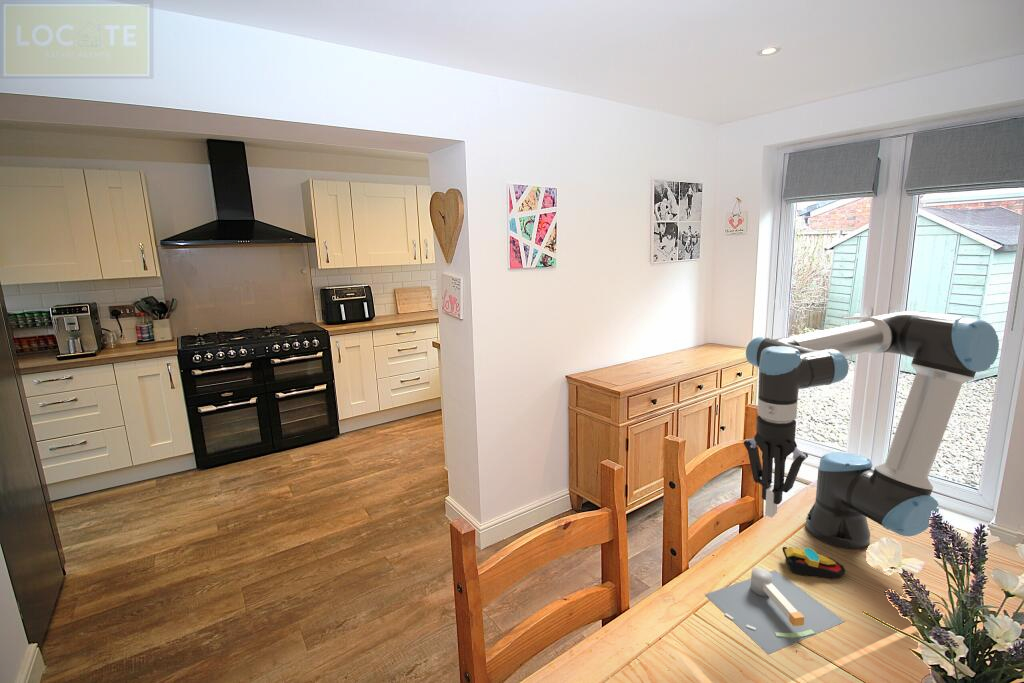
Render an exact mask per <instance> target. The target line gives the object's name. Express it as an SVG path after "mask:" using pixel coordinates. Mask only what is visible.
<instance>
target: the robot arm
mask: <svg viewBox="0 0 1024 683" xmlns="http://www.w3.org/2000/svg"><path fill="white" fill-rule="evenodd" d="M999 345H1000V341H999V336H998V334H997V332H996V330H995V328H994V327H993V325H991V324H990V323H989V322H987V321H984V320H982V319H977V318H974V317H973V318H972V317H969V316H963V315H962V316H961V315H953V314H952V315H951V314H945V313H944V314H943V313H934V312H927V311H923V310H922V311H920V310H909V311H908V310H905V311H899V312H898V311H897V312H896V311H895V312H891V313H890V312H889V313H885V314H880V315H874V316H869V317H865V318H863V319H861V320H860V321H859V322H858V323H853V324H847V325H843V326H839V327H833V328H828V329H827V328H826V329H822V330H818V331H812V332H811V331H810V332H807V333H801V334H798V335H793V336H786V337H780V338H775V339H774V338H773V339H772V338H770V337H762V336H760V337H759V336H758V337H755V338H753V339H752V340H750V341H749V343H748V344H747V346H746V349H745V358H746V360H747V363H749V364H750V365H752V366H754V367H757V368H758V397H757V398H758V399H757V415H758V416H756V434H755V435H754V436H753V437H749V438H747V439H746V440H744V441H743V446H744V447H745V449H746V450H747V455H748V459H749V464H750V468H751V474H752V478H753V482H755V483H758V484H759V485H760V486H761V487H762V488H761V498H762V500H764V501H765V509H764V510H765V511H764V516H767V517H769V518H773V517H775V515H776V514H777V513H778V505H780V504H781V503H782V502H783V493H788V492H790V491H791V489H793V487H794V485H795V481H796V479H797V476H798V474H799V472H800V469H801V467H802V463H803V462H804V461H806V459H807V458H808V457H809V454H808V453H807V452H802V451H801V450H800V449H799V448H798V445H797V442H796V432H797V431H796V429H797V421H796V419H797V415H798V401H799V400H798V399H799V390H802V389H803V390H804V389H808V388H814V387H820V386H830V385H832V384H835V383H839V382H841V381H843V380H845V379H846V377H847V375H848V374H849V362H848V359H847V358H846V357H848V356H851V355H856V354H862V353H869V354H875V355H877V354H882V353H890V354H895V355H896V354H897V355H900V356H901V355H902V356H907V357H909V358H912V361H911V364H910V365H911V366H912V368H913V370H914V371H915V375H914V378H913V382H912V385H911V387H910V390H909V393H908V395H907V398H906V401H905V404H904V407H903V409H902V413H901V415H900V418H899V421H898V424H897V426H896V427H897V428H896V430H895V431H894V436H893V438H892V441H891V444H890V447H889V451H888V453H887V455H886V458H885V461H884V463H882V464H879V465H876V466H874V468H873V462H872V461H871V459H870V458H868V457H866V456H863V455H860V454H858V453H857V454H856V453H850V452H829V453H825V454H824V455H822V456H821V458H820V460H819V465H818V468H817V469H818V471H817V481H816V491H815V501H814V502H813V504H812V506H811V508H810V510H809V512H808V513H807V515H806V519H805V527H806V529H807V531H808V532H809V533H810V534H811V535H812V536H813V537H815V538H816V539H818V540H820V541H822V542H824V543H826V544H828V545H830V546H831V545H832V546H835V547H838V548H843V549H852V550H853V549H855V550H857V549H863V548H865V547H866V546H868V545H870V540H871V531H870V528H869V523H868V520H867V519H869V520H872V521H873V522H875V523H877V525H878V524H879V525H880V526H882V527H883V528H884V529H885V530H888V531H891V532H893V533H895V534H897V535H899V536H902V537H914V536H917V535H920V534H922V533H923V532H925V531H926V530H928V529H929V528H930V527H929V518H930V516H931V511H932V510H934V511H936V512H937V513H938V514H939V513H940V512H939V510H940V507H939V502H938V500H936V498H934V496H932V492H933V489H934V486H933V484H932V483H931V482H930V480H929V476H930V472H931V470H932V468H933V465H934V461H935V459H936V457H937V453H938V451H939V448H940V446H941V443H942V441H943V438H944V435H945V432H946V429H947V427H948V424H949V421H950V419H951V417H952V416H951V415H952V413H953V410H954V407H955V405H956V402H957V399H958V397H959V394H960V391H961V388H962V386H963V384H964V383H967V382H969V381H971V380H974V378H975V375H976V373H981V372H984V371H987V370H989V369H990V368H991V365H994V363H995V361H996V360H997V358H998V355H999V348H1000V347H999ZM759 449H760V451H761V453H762V454H761V457H760V452H759ZM791 454H793V455H792V460H793V461H792V463H791V465H790V467H789V470H788V473H787V476H786V478H785V473H786V472H785V471H786V461H787V458H788V457H789V456H790V455H791ZM761 459H762V462H761ZM773 464H774V473H773ZM872 468H873V469H872ZM772 483H773V484H772Z"/></svg>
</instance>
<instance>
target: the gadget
mask: <svg viewBox="0 0 1024 683" xmlns="http://www.w3.org/2000/svg"><path fill="white" fill-rule="evenodd" d="M782 552H783V554H784V557H785V561H786V563H787V565H788V567H789V570H790V573H792V574H795V575H799V576H804V577H812V578H813V577H814V578H815V577H816V578H821V579H826V580H827V579H828V580H833V579H835V578H838V579H839V578H841V577H842V576H844V575H846V572H847V571H846V569H845V567H844V565H842V564H841V563H839V562H838V561H836V560H835V559H834V558H831V557H827V556H825V555H822V554H819V553H817V552H816V550H814V549H813V548H812V547H807V546H803V549H801V548H798V547H797V548H796V547H793V546H791V547H786V546H783V547H782Z"/></svg>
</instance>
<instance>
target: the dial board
mask: <svg viewBox="0 0 1024 683" xmlns="http://www.w3.org/2000/svg"><path fill="white" fill-rule="evenodd" d="M769 572H770V573H771V574H772V577H773V579H772V584H773V585H774V586H775V587H776V588H777V589H778V591H779V592H780V593H781V594H782V595H783V596H784V597H785V598H786V599H787V600H788V601H789V602H790V603H791V605H792V606H793V607H794V608H795V609H796V610H797V611H798V612H800V613H801V614H802V615H803V616H804V625H801V626H793V625H792V624H791V623H790V621H789V619H788V618H787V617H786V615H785V614H784V613H783V612H782V611H781V610H780V609H779V607H778V606H777V605H776V604H775V603H774V602H773V601H772V600H771V598H770V597H769V596H761V595H758V594H756V593H754V592H753V591H752V590H751V587H750V586H751V578H748V579H746V580H742V581H740V582H737V583H734V584H730V585H728V586H725V587H723V588H720V589H717V590H713V591H711V592H707V593H706V594H704V596H705V597H706V598H707V599H708V600H709V601H710V602H712V604H714V605H715V606H716V607H717V608H718V609H719V610H721V612H722V613H723V614H724V616H726V617H727V618H728V619H730V620H731V621H732V622H733V623H734V624H735V625H736V626H737V627H738V628H739V629H741V631H743V632H744V633H745V634H746V635H747V636H748V637H749V638H750V639H751V640H752V641H754V642H755V644H756V645H758V647H760V648H761V649H762V650H763V651H764V652H765V653H766V655H770V654H772V653H775V652H777V651H779V650H782V649H785V648H788V647H789V646H791V645H794V644H796V643H798V642H800V641H801V642H802V641H804V640H805V639H807V638H810V637H812V636H815V635H817V634H820V633H821V632H823V631H826V630H828V629H832V628H833V627H836V626H839V625H840V624H842V623H843V624H844V623H845V622H846V620H844V619H843V618H841V617H840V616H839V615H837V614H836V613H835V612H834V611H832V610H830V609H829V608H828V607H826V605H823V603H821V602H819V601H818V600H817V599H815V598H814V597H813V596H811V595H810V594H808V593H807V592H806V591H804V590H803V589H802V588H800V587H799V586H798V585H797V584H795V583H793V581H791V580H789V579H788V578H787V577H785V576H784V575H783V574H781V573H780V572H778V571H777V570H776V569H774V570H771V571H769Z"/></svg>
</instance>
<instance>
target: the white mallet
mask: <svg viewBox="0 0 1024 683" xmlns="http://www.w3.org/2000/svg"><path fill="white" fill-rule="evenodd" d="M750 575H751V576H750V579H751V586H750V587H751V590H752V591H753V592H754V593H756V594H758V595H761V596H769V597H770V598H771V600H772V601H773V602H774V603H775V604H776V605H777V606H778V607H779V609H780V610H781V611H782V612H783V613H784V614H785V615H786V617H787V618H788V619H789V621H790V623H791V624H792V625H793V626H801V625H804V616H803V615H802V614H801V613H800V612H798V611H797V610H796V609H795V608H794V607H793V606H792V605H791V603H790V602H789V601H788V600H787V599H786V598H785V597H784V596H783V595H782V594H781V593H780V592H779V591H778V589H777V588H776V587H775V586H774V585H773V584H772V579H773V577H772V574H771V573H770V571H768V570H767V569H764V568H759V567H757V568H753V569H752V570H751V574H750Z"/></svg>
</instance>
